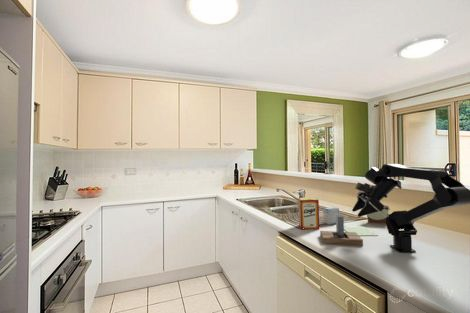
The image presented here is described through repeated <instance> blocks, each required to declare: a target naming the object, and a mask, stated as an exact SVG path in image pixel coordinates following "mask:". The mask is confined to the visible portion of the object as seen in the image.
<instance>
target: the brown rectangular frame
mask: <svg viewBox="0 0 470 313" xmlns="http://www.w3.org/2000/svg"><path fill="white" fill-rule="evenodd" d="M319 232H320V235H319V236H320V238H321V240H322V243H323V244H324V245H338V246H339V245H340V246H355V247H357V246H358V247H363V246H364V241H363V239H362V238H361V236H359V235H358V234H357V233H355V232H346V231H344V237H345V238H335V235H336V236H337V233H336V231H334V230H333V231H329V230H319Z"/></svg>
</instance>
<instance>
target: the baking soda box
mask: <svg viewBox="0 0 470 313" xmlns="http://www.w3.org/2000/svg"><path fill="white" fill-rule="evenodd" d="M297 202H298V206H297V207H298V209H297V210H298V227H299V226H300V227H299V229H301V230H320V204H319V199H318V198H316V197H298V198H297ZM303 228H304V229H303Z"/></svg>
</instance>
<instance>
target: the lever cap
mask: <svg viewBox="0 0 470 313" xmlns="http://www.w3.org/2000/svg"><path fill="white" fill-rule="evenodd" d="M344 218H345V217H344V216H343V214H339V215H336V223H335V224H336V225H335V226H336V227H335V228H336V231H335V232H336V233H337V236H336V235H335V238H345V237H344V232H345V230H344V226H345V222H344V221H345V220H344Z"/></svg>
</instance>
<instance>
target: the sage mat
mask: <svg viewBox="0 0 470 313" xmlns="http://www.w3.org/2000/svg"><path fill="white" fill-rule="evenodd" d="M344 232H355V233H357V234H358V235H359V236H360V237H379V235H378V234H376V233H375V232H374V231H372V230H370V229H368V228H367V227H365V226H363V225H362V226H361V225H360V226H359V225H358V226H356V225H355V226H353V225H352V226H350V225H349V226H345V225H344Z"/></svg>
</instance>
